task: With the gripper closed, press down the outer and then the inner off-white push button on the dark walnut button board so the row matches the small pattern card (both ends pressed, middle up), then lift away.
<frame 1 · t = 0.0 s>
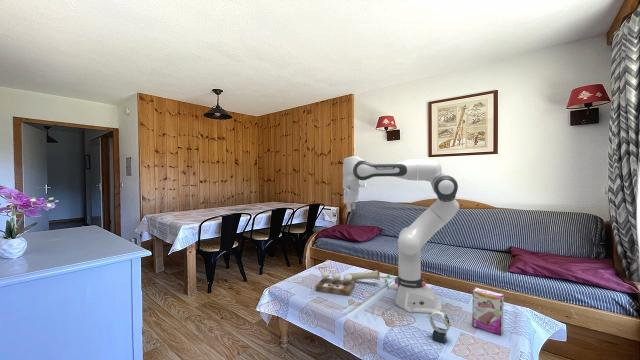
hand: (351, 210, 156), 48 cm above the table, tool pointing down, fingers open, 8 cm apart
middle button: (336, 275, 169), point 7 cm above the table, slide at 0.0 cm
inner button: (347, 277, 166), point 7 cm above the table, slide at 0.0 cm
button board: (335, 288, 167), on the table
watch: (439, 339, 117), on the table
candy bar box: (487, 329, 123), on the table
outer button: (325, 274, 171), point 7 cm above the table, slide at 0.0 cm
flower vase: (375, 285, 171), on the table
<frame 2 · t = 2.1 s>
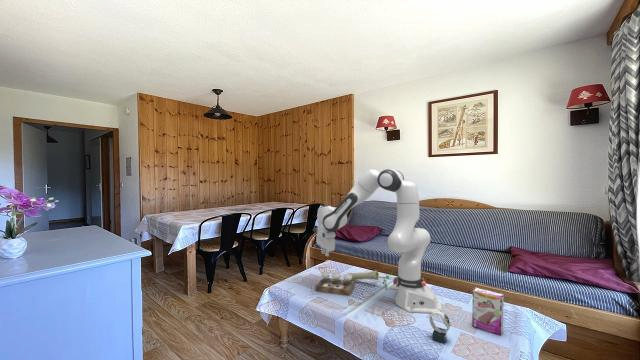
hand: (325, 254, 171), 19 cm above the table, tool pointing down, fingers open, 4 cm apart
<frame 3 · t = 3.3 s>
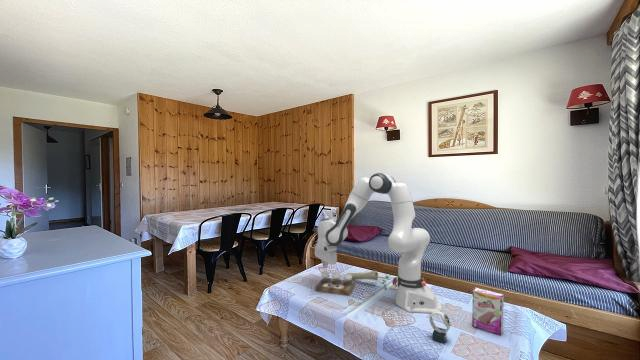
hand: (325, 267, 171), 11 cm above the table, tool pointing down, fingers closed
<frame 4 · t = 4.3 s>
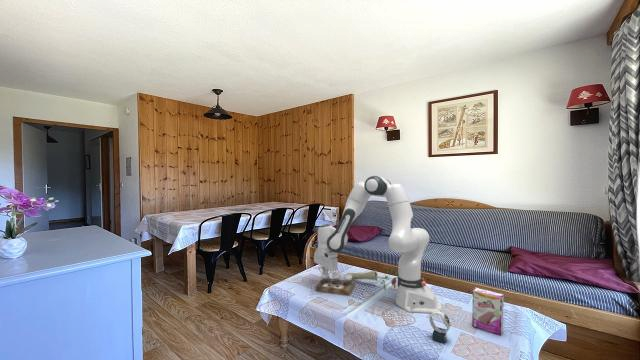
hand: (325, 273, 171), 7 cm above the table, tool pointing down, fingers closed, pressing on outer button
outer button: (325, 275, 171), point 6 cm above the table, slide at 0.7 cm, touching gripper
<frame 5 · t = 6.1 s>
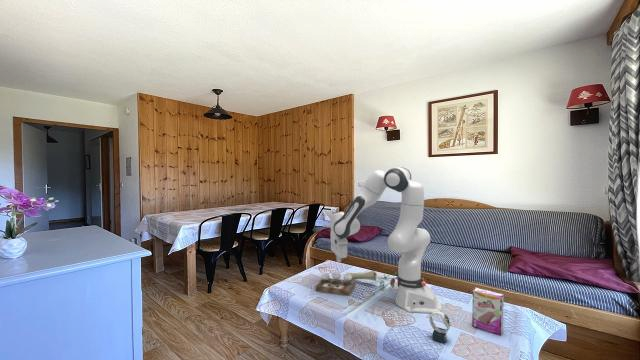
hand: (338, 261, 168), 16 cm above the table, tool pointing down, fingers closed
outer button: (325, 276, 171), point 6 cm above the table, slide at 1.5 cm
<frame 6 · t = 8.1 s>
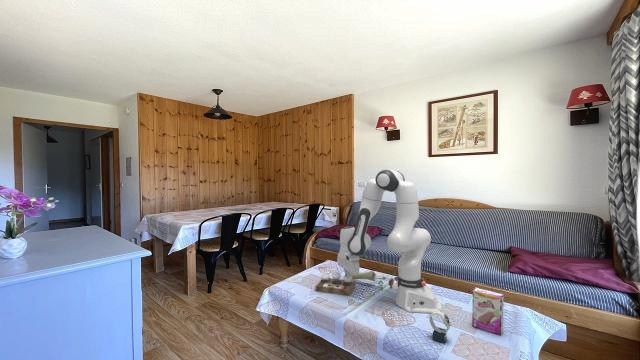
hand: (347, 276, 167), 7 cm above the table, tool pointing down, fingers closed, pressing on inner button
inner button: (347, 278, 166), point 6 cm above the table, slide at 1.0 cm, touching gripper
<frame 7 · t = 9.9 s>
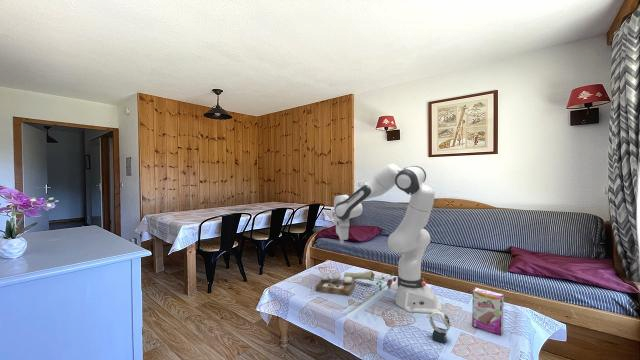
hand: (341, 243, 170), 26 cm above the table, tool pointing down, fingers closed
inner button: (347, 279, 166), point 6 cm above the table, slide at 1.5 cm
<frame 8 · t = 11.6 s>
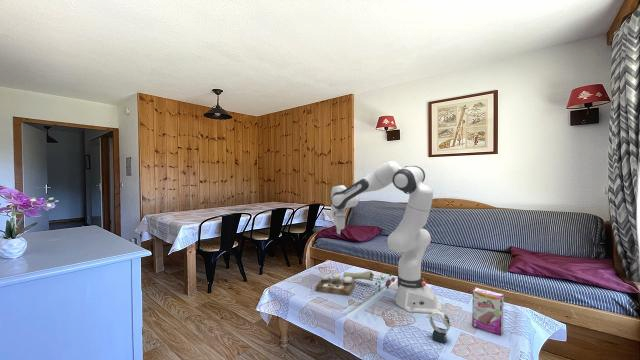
hand: (338, 233, 174), 31 cm above the table, tool pointing down, fingers closed
at the end: outer button slide at 1.5 cm; inner button slide at 1.5 cm; middle button slide at 0.0 cm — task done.
